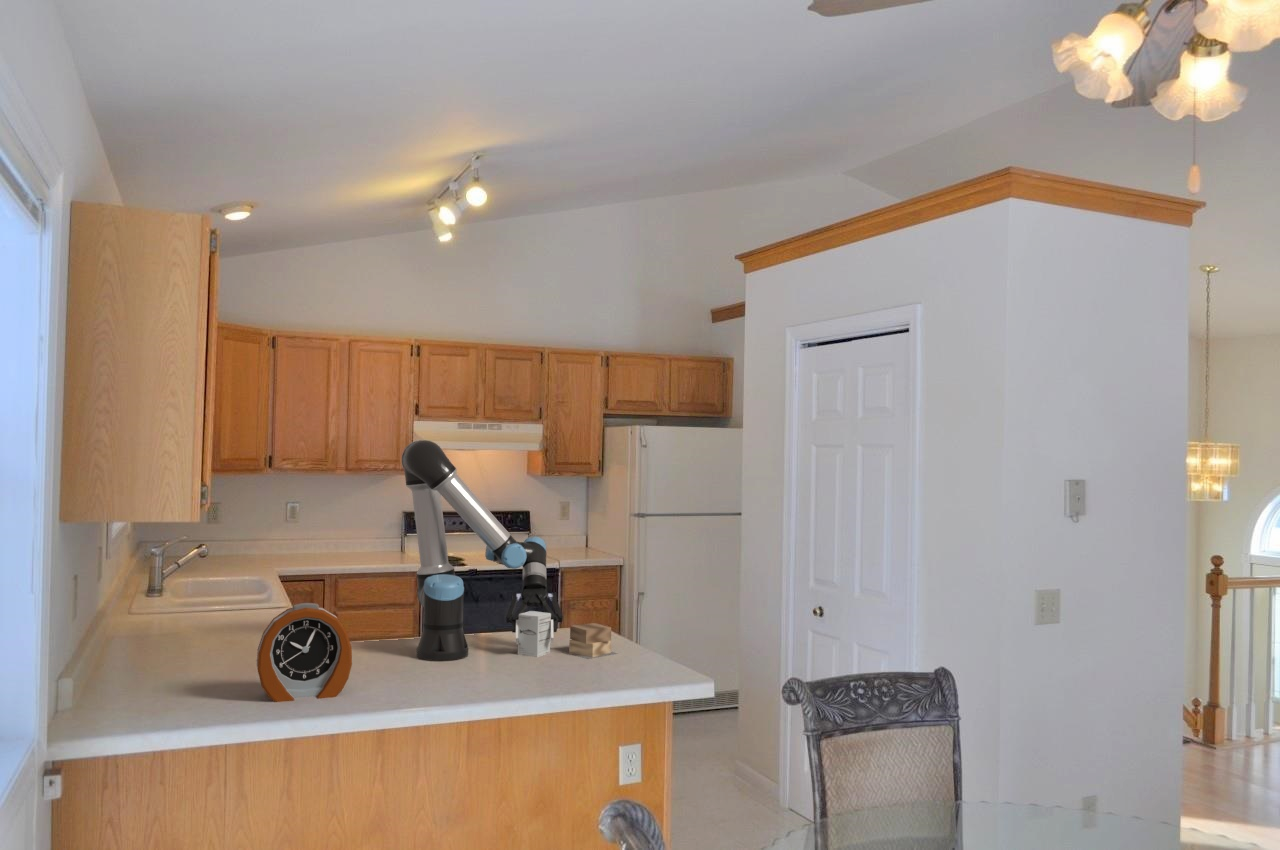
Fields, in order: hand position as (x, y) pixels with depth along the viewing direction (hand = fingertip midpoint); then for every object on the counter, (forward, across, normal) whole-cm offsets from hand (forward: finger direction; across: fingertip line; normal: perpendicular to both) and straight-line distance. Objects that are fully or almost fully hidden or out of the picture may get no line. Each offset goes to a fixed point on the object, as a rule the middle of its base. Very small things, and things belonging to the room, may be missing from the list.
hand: (534, 640), depth 289 cm
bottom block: (+1, -17, -5) cm, 18 cm away
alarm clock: (+32, +58, +25) cm, 71 cm away
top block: (-2, -17, -3) cm, 17 cm away
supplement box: (+1, 0, -6) cm, 6 cm away
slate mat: (+1, -17, -6) cm, 18 cm away
